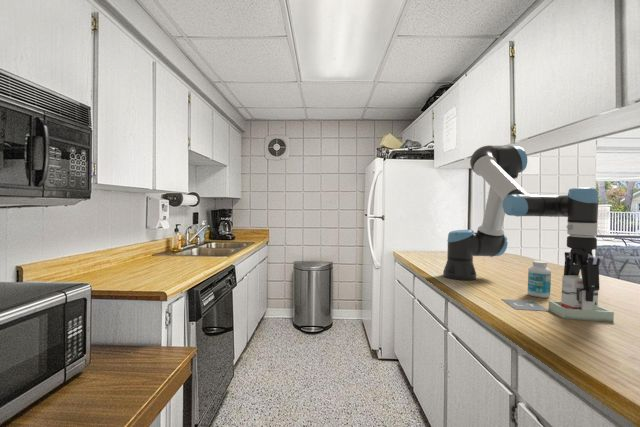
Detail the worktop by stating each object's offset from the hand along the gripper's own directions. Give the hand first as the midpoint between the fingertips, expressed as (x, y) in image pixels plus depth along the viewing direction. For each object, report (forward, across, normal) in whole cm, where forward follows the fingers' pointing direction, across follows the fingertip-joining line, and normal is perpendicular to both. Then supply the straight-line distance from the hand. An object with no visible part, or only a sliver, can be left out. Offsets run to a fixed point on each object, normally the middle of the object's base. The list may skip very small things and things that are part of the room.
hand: (579, 307), depth 104 cm
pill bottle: (+3, -24, -1) cm, 24 cm away
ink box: (+2, 0, 0) cm, 2 cm away
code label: (+3, -8, -12) cm, 15 cm away
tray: (+3, 0, 0) cm, 3 cm away
